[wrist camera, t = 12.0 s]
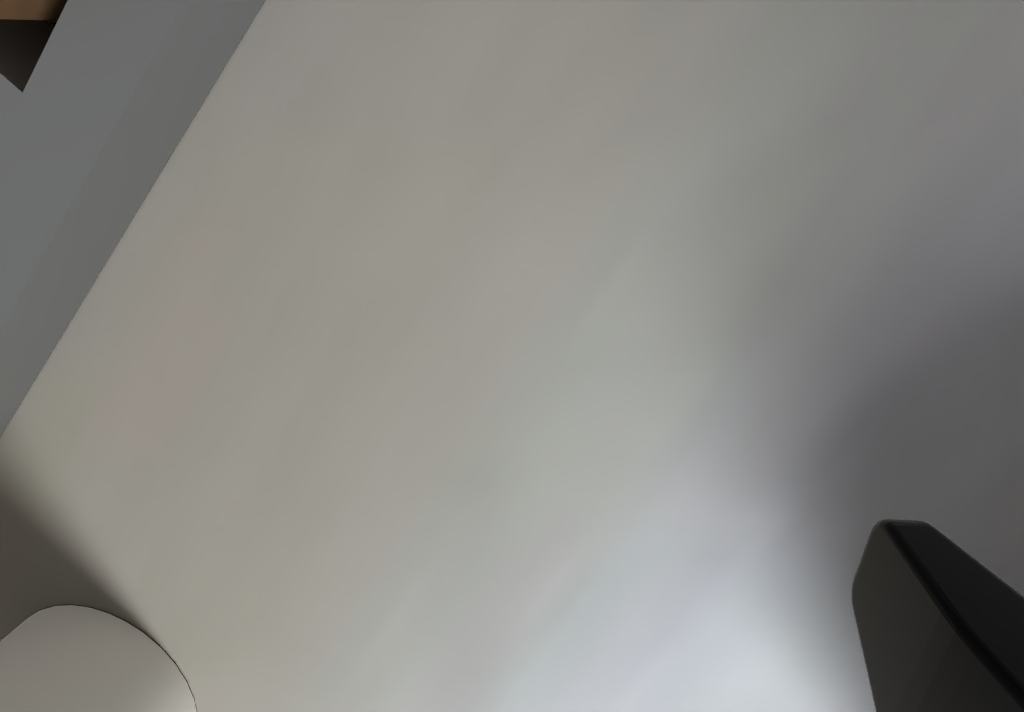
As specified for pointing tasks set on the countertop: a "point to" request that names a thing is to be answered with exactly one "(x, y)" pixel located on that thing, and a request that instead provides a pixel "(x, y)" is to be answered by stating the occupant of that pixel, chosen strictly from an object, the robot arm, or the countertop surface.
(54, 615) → the cylindrical container
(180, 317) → the countertop surface
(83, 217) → the socket block
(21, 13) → the brown wooden block
